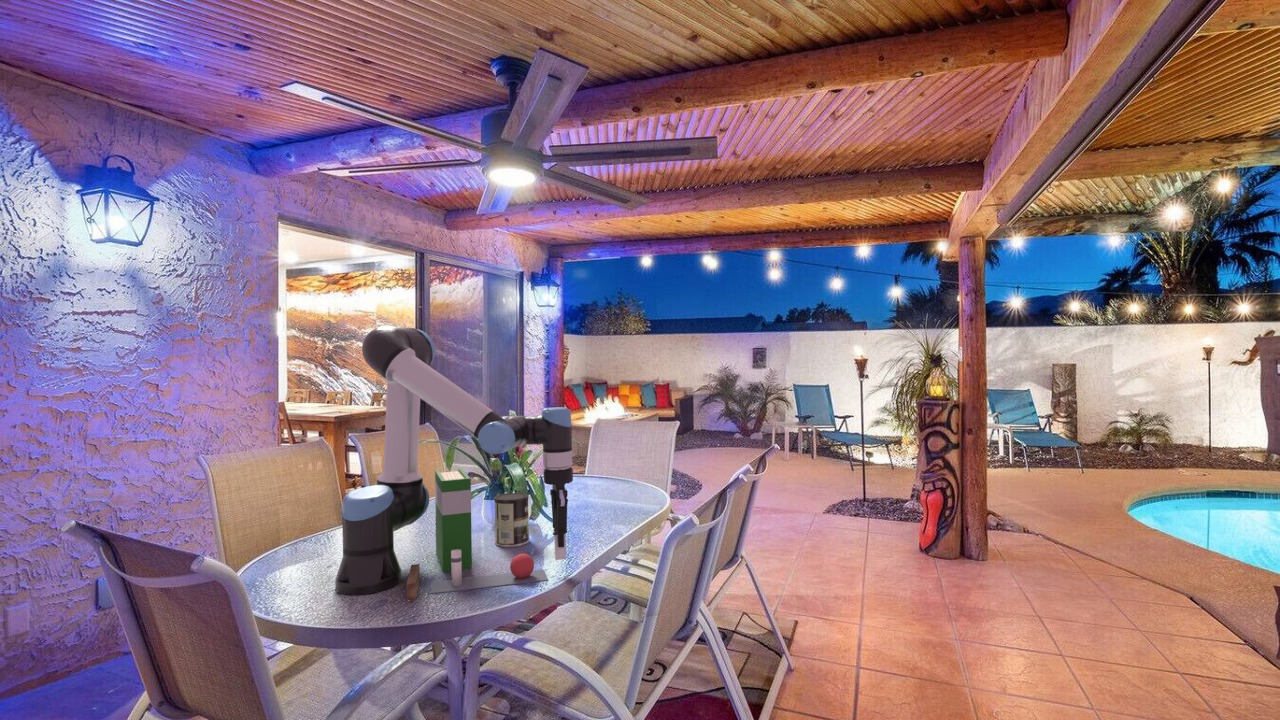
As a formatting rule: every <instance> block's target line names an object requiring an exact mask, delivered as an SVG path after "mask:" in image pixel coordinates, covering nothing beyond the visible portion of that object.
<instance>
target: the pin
mask: <svg viewBox="0 0 1280 720" xmlns="http://www.w3.org/2000/svg"><path fill="white" fill-rule="evenodd" d="M461 561H462V556H461V550H460V549H455V550H452V551H451V571H450V574H451V579H452V586H459V585H461V584H462V578H463V577H462V575H463V574H462V573H463V570H462V562H461Z"/></svg>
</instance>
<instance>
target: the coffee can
mask: <svg viewBox="0 0 1280 720" xmlns="http://www.w3.org/2000/svg"><path fill="white" fill-rule="evenodd" d="M529 496H530V495H529V494H527V493H523V492H507V493H502V494H497V495H495V496H494V497H493V501H494V531H495V532H494V535H495V536H494V538H495V539H494V541H495V542H494V544H495V546H498V547H501V548H515V547H521V546H525V545H527V544H528V543H529V542H530V532H529V531H530V530H529V529H530V528H529V520H530V519H529Z"/></svg>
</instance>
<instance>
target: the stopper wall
mask: <svg viewBox="0 0 1280 720" xmlns="http://www.w3.org/2000/svg"><path fill="white" fill-rule="evenodd" d="M420 567H421V565H420V564H419V563H416V564H411V565H410V568H409V573H408V577H407V581H406V602H409V601H408V600H414V601H417V598H418V593H417V592H418V591H419V587H420V581H421V571H420V570H421V568H420ZM416 597H417V598H416Z"/></svg>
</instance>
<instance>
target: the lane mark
mask: <svg viewBox="0 0 1280 720" xmlns="http://www.w3.org/2000/svg"><path fill="white" fill-rule="evenodd" d="M547 581H549V578H548V576H547V573H546V571H545V569H533V572H532V573H531V574H530V575H529V576H528V577H526V578H522V579H521V578H517V577H515V576H514V575H513V574H512V572H507V573H497V574H490V575H481V576H480V575H479V576H471V577H462V584H461V585H459V586H452V578H451V579H443V580H434V581H431V587H430V595H434V594H443V593H451V592H461V591H468V590H477V589H483V588H484V589H485V588H495V587H502V586H503V587H504V586H511V585H512V586H513V585H520V584H531V583H535V582H536V583H539V582H547Z"/></svg>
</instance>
